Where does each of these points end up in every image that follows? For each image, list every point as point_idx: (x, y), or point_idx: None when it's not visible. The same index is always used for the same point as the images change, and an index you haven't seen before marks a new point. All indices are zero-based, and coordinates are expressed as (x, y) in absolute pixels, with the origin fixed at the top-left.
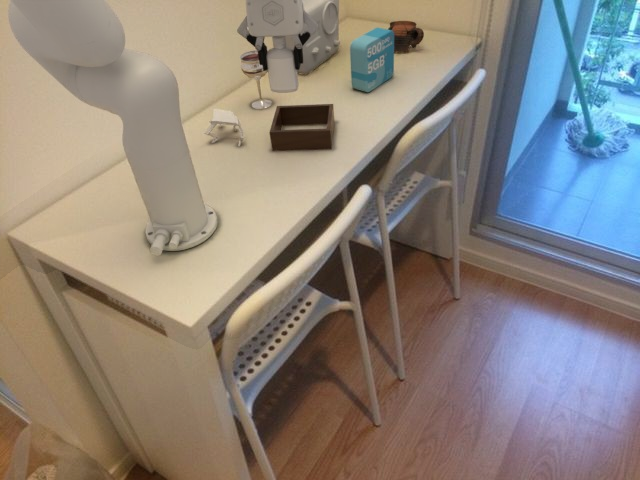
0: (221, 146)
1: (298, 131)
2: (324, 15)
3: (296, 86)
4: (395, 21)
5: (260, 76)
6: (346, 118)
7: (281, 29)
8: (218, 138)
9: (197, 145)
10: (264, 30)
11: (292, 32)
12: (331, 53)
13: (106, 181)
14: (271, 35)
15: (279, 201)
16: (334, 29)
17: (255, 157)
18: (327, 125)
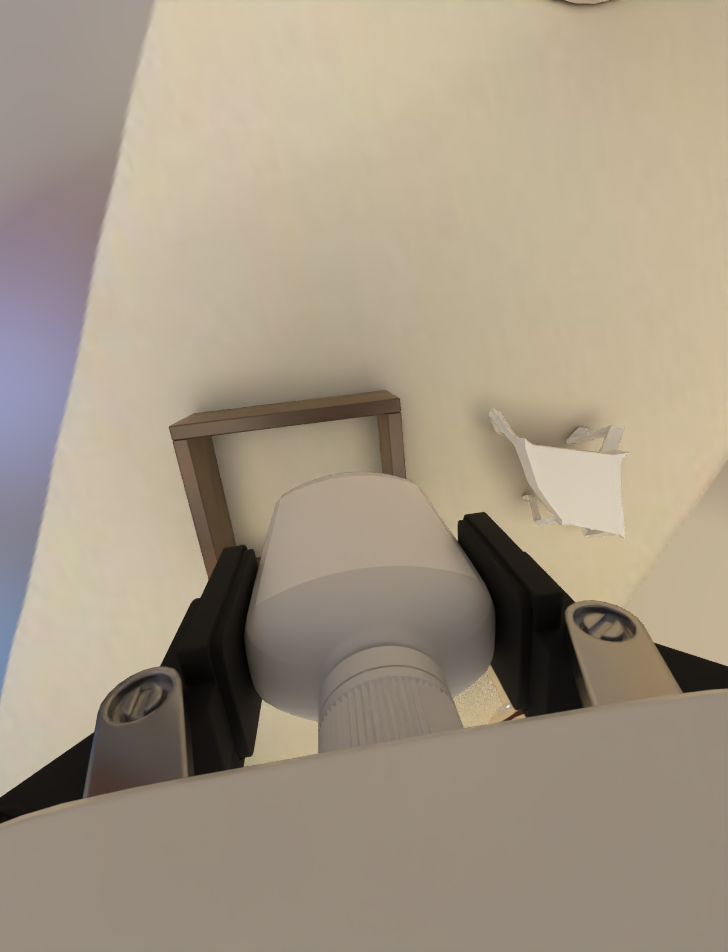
0: (551, 407)
1: (291, 411)
2: None
3: (276, 505)
4: None
5: (503, 706)
6: (198, 594)
7: (266, 910)
8: (569, 438)
9: (624, 408)
10: (694, 817)
11: (35, 857)
12: None
13: None
14: (490, 729)
15: (283, 53)
16: None
17: (432, 349)
18: (190, 459)
